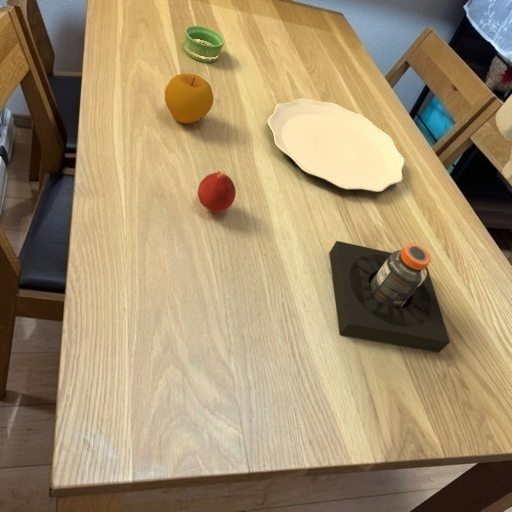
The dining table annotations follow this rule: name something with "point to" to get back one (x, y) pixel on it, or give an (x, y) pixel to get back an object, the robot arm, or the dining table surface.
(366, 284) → the socket pad
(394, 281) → the pill bottle
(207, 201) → the onion
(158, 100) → the dining table surface
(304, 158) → the plate
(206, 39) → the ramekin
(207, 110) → the apple
